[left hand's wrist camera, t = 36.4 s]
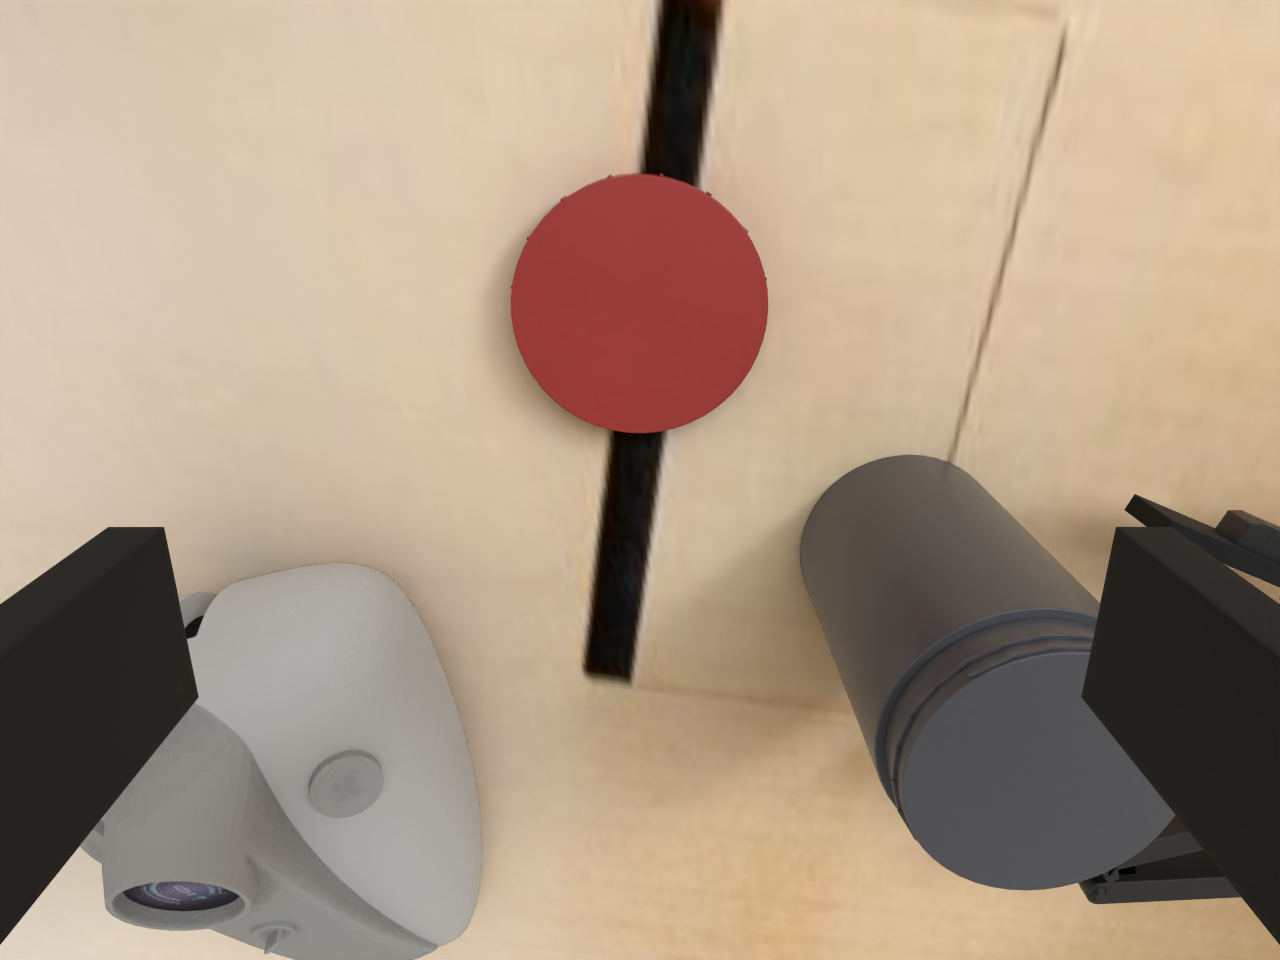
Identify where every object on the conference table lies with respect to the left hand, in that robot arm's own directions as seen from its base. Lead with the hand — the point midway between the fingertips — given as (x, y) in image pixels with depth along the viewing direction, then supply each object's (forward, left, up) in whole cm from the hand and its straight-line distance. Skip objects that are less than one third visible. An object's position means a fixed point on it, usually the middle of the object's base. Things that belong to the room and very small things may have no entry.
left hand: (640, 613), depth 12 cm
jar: (+17, 0, -27) cm, 32 cm away
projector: (+5, -27, -27) cm, 39 cm away
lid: (0, 0, -25) cm, 25 cm away
